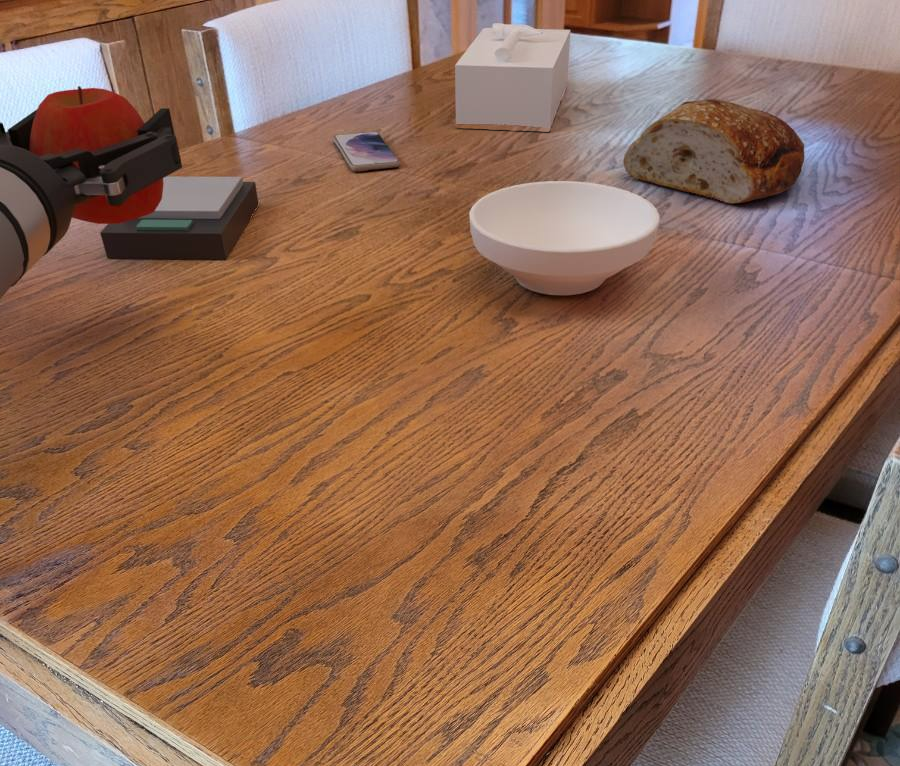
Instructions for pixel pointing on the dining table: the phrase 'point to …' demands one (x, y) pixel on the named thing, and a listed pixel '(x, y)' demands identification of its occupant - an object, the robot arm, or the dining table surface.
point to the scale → (187, 221)
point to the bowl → (563, 233)
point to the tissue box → (512, 76)
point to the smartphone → (366, 151)
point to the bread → (718, 152)
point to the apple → (92, 144)
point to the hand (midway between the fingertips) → (107, 124)
